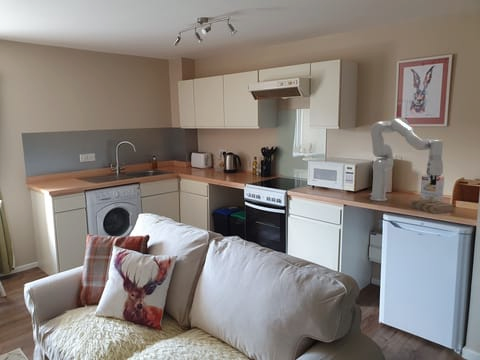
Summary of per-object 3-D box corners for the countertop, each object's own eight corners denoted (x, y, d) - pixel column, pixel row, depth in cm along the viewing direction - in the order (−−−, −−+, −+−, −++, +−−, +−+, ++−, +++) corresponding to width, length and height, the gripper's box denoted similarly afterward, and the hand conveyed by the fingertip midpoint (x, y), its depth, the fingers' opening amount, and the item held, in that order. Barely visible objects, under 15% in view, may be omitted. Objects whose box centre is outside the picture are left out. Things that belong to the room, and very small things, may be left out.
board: (410, 207, 258) (411, 200, 257) (428, 205, 263) (429, 198, 262) (433, 213, 239) (434, 206, 238) (452, 211, 244) (453, 204, 243)
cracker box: (419, 202, 274) (421, 174, 271) (424, 201, 277) (426, 173, 274) (437, 205, 262) (439, 176, 259) (442, 204, 265) (444, 176, 262)
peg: (427, 209, 252) (428, 196, 250) (431, 208, 253) (432, 196, 251) (431, 210, 249) (432, 197, 247) (434, 209, 250) (436, 196, 248)
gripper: (431, 159, 239) (428, 186, 242) (448, 158, 244) (446, 185, 247) (422, 157, 246) (420, 184, 249) (439, 157, 251) (437, 183, 254)
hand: (433, 184), depth 248 cm, fingers closed
